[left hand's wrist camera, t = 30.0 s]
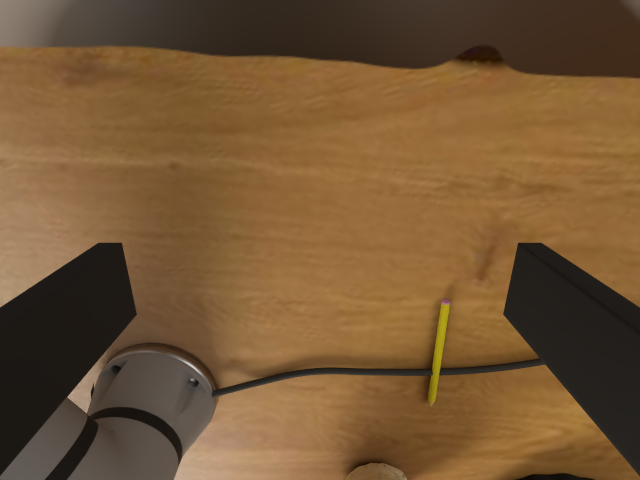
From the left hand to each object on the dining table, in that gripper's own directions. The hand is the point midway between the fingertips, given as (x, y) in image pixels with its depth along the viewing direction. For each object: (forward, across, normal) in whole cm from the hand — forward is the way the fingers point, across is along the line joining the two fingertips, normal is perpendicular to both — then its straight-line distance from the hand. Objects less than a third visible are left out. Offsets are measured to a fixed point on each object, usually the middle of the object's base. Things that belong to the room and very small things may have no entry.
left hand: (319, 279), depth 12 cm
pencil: (+28, -15, +25) cm, 40 cm away
